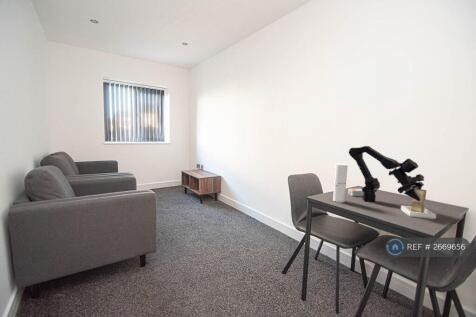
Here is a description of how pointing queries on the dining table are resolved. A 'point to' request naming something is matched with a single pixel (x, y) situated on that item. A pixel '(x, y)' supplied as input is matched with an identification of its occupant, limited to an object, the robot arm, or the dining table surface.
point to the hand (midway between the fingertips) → (421, 200)
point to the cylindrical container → (340, 182)
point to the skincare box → (355, 192)
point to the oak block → (419, 205)
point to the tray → (426, 213)
